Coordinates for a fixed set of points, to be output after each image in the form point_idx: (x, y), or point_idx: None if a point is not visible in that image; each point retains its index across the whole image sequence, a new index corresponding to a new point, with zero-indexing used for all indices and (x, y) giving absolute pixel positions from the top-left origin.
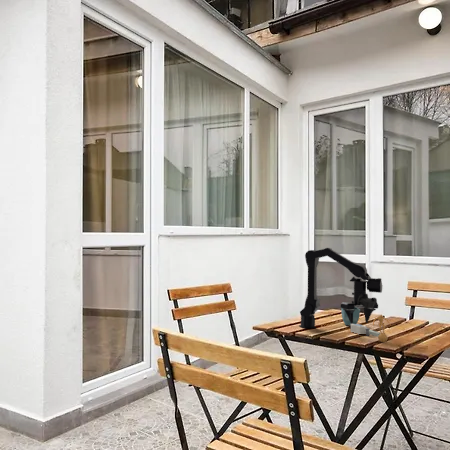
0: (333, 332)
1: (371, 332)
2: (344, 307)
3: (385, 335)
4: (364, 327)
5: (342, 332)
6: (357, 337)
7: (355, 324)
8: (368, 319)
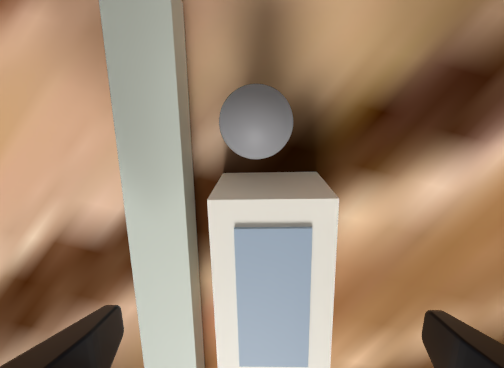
0: (499, 342)
1: (182, 132)
2: None
3: None
4: (253, 196)
5: (409, 319)
6: (461, 54)
7: (288, 348)
8: (64, 335)
